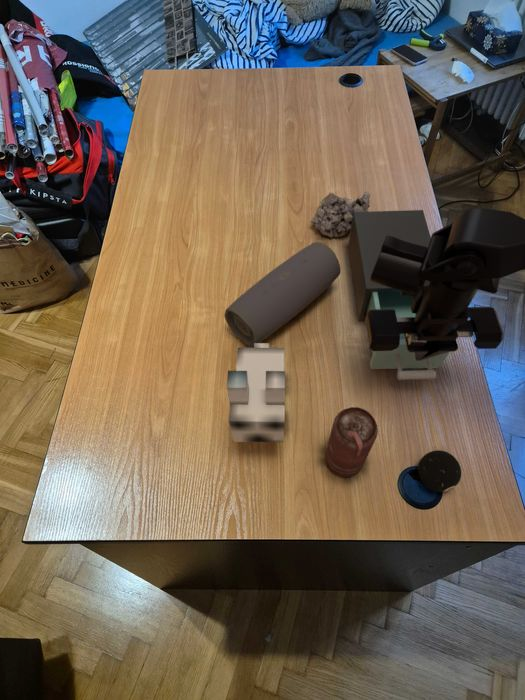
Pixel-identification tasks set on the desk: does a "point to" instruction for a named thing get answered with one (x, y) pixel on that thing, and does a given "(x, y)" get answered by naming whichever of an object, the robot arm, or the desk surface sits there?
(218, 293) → the desk surface
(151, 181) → the desk surface
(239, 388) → the toy llama
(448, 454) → the billiard ball
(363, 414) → the can
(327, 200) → the mineral specimen
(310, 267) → the bluetooth speaker
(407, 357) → the mint green drawer
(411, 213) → the drawer box
